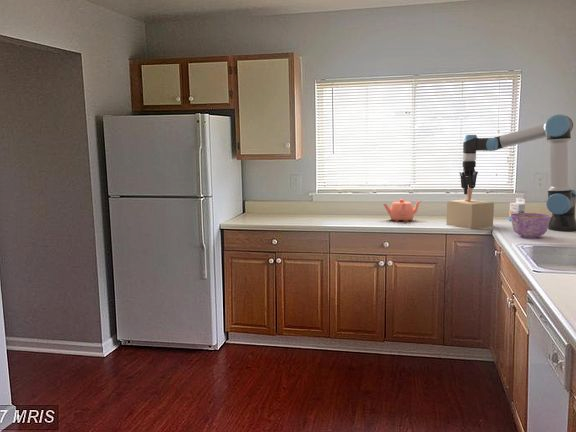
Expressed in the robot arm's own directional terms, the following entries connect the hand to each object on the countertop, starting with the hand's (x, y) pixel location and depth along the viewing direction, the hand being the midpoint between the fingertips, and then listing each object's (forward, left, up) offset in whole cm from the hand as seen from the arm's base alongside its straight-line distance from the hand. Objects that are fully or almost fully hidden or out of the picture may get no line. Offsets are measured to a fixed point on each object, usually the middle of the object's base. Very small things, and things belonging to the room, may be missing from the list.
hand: (467, 199), depth 329 cm
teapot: (+35, +21, -16) cm, 44 cm away
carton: (-2, 0, -16) cm, 16 cm away
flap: (+3, 0, -1) cm, 3 cm away
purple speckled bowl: (-47, +3, -16) cm, 49 cm away
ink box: (-6, -37, -16) cm, 41 cm away
